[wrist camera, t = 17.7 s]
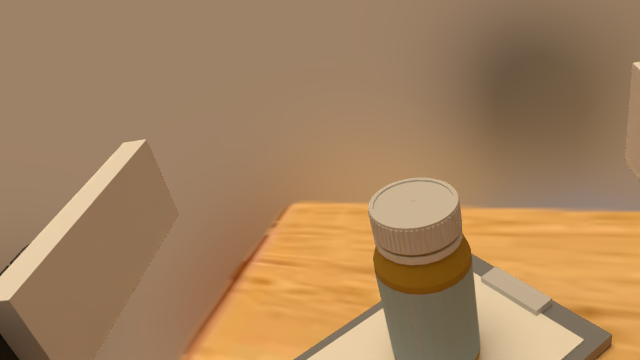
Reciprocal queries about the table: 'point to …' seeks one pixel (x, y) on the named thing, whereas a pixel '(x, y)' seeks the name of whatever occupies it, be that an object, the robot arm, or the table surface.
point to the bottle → (424, 271)
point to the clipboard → (484, 326)
